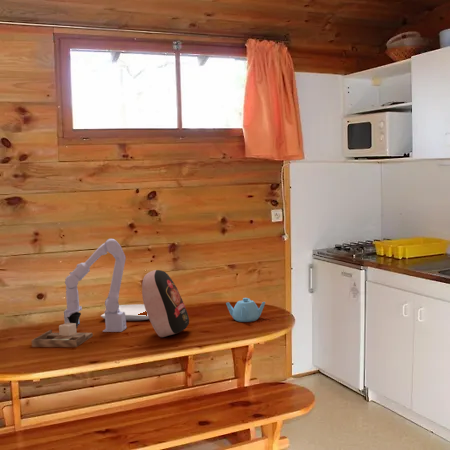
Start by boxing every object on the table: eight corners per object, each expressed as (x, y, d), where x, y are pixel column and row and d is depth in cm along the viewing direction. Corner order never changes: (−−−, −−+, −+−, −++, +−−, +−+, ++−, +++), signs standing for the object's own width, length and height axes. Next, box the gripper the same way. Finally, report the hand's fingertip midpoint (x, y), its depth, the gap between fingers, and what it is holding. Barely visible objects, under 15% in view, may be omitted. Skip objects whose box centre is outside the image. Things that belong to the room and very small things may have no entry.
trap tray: (92, 336, 272) (92, 329, 272) (76, 347, 254) (75, 340, 254) (51, 336, 276) (50, 329, 275) (32, 346, 258) (31, 340, 258)
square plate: (150, 322, 295) (150, 315, 295) (100, 322, 300) (99, 315, 300) (165, 310, 322) (165, 303, 322) (118, 310, 327) (118, 304, 327)
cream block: (76, 332, 273) (76, 323, 273) (68, 335, 268) (68, 326, 268) (67, 332, 275) (66, 322, 275) (59, 335, 270) (58, 325, 270)
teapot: (268, 319, 289) (267, 297, 289) (244, 324, 281) (243, 302, 280) (249, 314, 302) (248, 293, 301) (225, 319, 293) (224, 298, 292)
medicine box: (72, 328, 290) (71, 310, 289) (64, 328, 291) (63, 310, 290) (79, 324, 297) (78, 307, 297) (71, 324, 298) (70, 307, 298)
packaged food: (181, 341, 256) (177, 273, 254) (138, 340, 260) (134, 274, 258) (192, 328, 278) (189, 266, 275) (153, 328, 281) (150, 267, 279)
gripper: (71, 297, 284) (73, 324, 285) (57, 303, 270) (59, 332, 271) (85, 297, 283) (86, 324, 284) (72, 303, 268) (74, 332, 269)
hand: (74, 328), depth 277 cm, fingers closed
